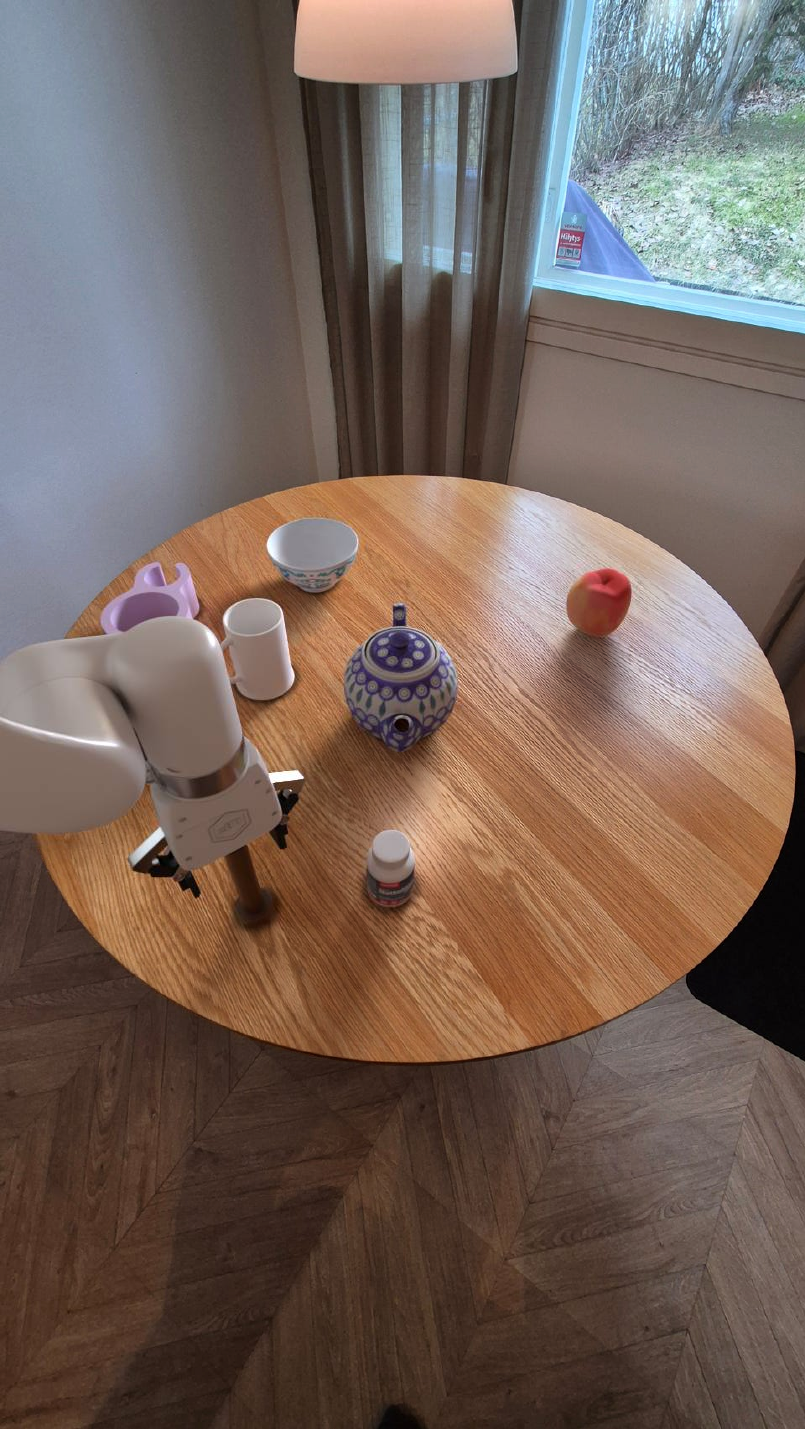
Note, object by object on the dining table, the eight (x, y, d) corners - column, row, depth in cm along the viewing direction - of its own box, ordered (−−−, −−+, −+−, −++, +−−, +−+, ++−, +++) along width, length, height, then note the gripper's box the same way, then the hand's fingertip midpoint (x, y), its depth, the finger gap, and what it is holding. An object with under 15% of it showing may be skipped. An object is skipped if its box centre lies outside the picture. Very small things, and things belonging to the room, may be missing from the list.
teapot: (353, 653, 102) (348, 573, 91) (452, 656, 102) (460, 576, 90) (337, 786, 85) (329, 706, 74) (457, 790, 85) (466, 710, 74)
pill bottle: (376, 914, 73) (375, 875, 67) (360, 875, 76) (357, 834, 70) (420, 898, 74) (423, 858, 68) (403, 860, 78) (404, 818, 71)
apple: (592, 603, 111) (606, 552, 103) (634, 635, 105) (652, 584, 98) (548, 623, 107) (560, 572, 100) (590, 657, 102) (605, 606, 94)
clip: (142, 595, 111) (130, 560, 106) (216, 598, 111) (207, 563, 105) (101, 679, 97) (84, 644, 92) (184, 682, 97) (173, 647, 92)
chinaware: (294, 549, 120) (289, 511, 115) (372, 564, 117) (371, 526, 112) (257, 597, 111) (250, 558, 105) (340, 616, 108) (337, 577, 102)
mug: (235, 720, 92) (218, 657, 83) (205, 686, 97) (186, 623, 88) (305, 682, 97) (297, 619, 88) (274, 652, 102) (263, 589, 93)
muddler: (248, 934, 72) (224, 870, 61) (230, 906, 74) (204, 840, 63) (280, 912, 73) (261, 846, 63) (262, 886, 75) (241, 818, 65)
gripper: (109, 839, 49) (167, 938, 61) (315, 738, 55) (329, 846, 68) (78, 772, 53) (139, 878, 65) (273, 685, 59) (294, 796, 72)
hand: (236, 861), depth 67 cm, fingers open, 9 cm apart
